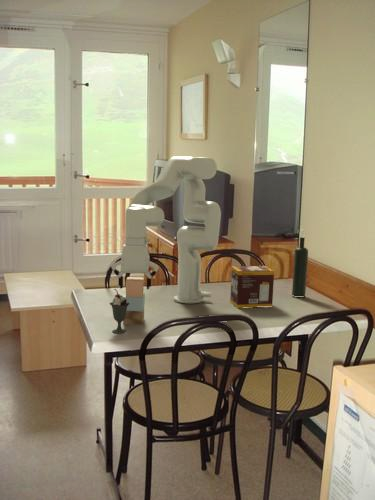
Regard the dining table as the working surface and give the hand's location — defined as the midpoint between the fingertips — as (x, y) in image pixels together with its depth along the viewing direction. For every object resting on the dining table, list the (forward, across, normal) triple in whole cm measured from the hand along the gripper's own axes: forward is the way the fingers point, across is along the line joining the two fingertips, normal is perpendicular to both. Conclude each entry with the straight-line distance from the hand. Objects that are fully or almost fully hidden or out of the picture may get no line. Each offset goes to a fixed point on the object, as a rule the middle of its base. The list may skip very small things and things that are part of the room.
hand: (134, 288), depth 218 cm
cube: (+3, 0, 0) cm, 3 cm away
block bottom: (+13, 0, 0) cm, 13 cm away
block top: (+8, 0, 0) cm, 8 cm away
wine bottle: (+13, -69, -47) cm, 84 cm away
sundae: (+13, +4, +13) cm, 19 cm away
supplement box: (+13, -46, -30) cm, 56 cm away
